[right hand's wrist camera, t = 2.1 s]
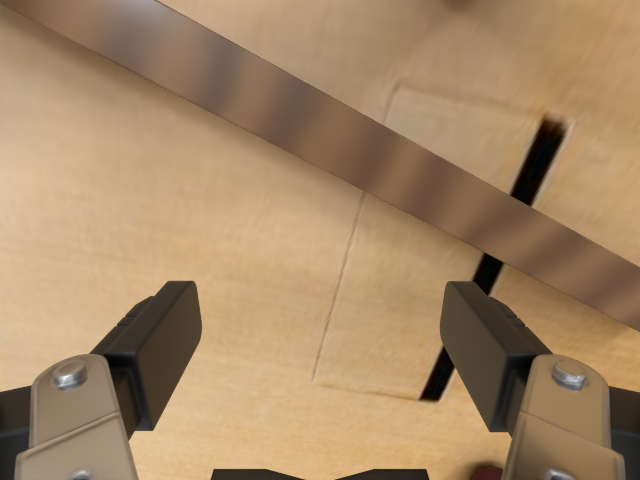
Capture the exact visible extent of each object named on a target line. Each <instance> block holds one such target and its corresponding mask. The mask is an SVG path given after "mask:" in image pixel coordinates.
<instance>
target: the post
mask: <svg viewBox="0 0 640 480" xmlns="http://www.w3.org/2000/svg"><path fill="white" fill-rule="evenodd" d="M0 4H1V5H3V6H5V7H7V8H9V9H11V10H13V11H15V12H17V13H19V14H21V15H23V16H24V17H26V18H28V19H30V20H32V21H34V22H36V23H38V24H40V25H42V26H44V27H46V28H48V29H50V30H52V31H54V32H56V33H58V34H60V35H62V36H63V37H65V38H67V39H69V40H71V41H73V42H75V43H77V44H79V45H81V46H83V47H85V48H87V49H89V50H91V51H93V52H95V53H97V54H99V55H101V56H102V57H104V58H106V59H108V60H110V61H112V62H114V63H116V64H118V65H120V66H122V67H124V68H126V69H128V70H130V71H132V72H134V73H136V74H138V75H140V76H142V77H143V78H145V79H147V80H149V81H151V82H153V83H155V84H157V85H159V86H161V87H163V88H165V89H167V90H169V91H171V92H173V93H175V94H177V95H179V96H181V97H182V98H184V99H186V100H188V101H190V102H192V103H194V104H196V105H198V106H200V107H202V108H204V109H206V110H208V111H210V112H212V113H214V114H216V115H218V116H220V117H221V118H223V119H225V120H227V121H229V122H231V123H233V124H235V125H237V126H239V127H241V128H243V129H245V130H247V131H249V132H251V133H253V134H255V135H257V136H259V137H260V138H262V139H264V140H266V141H268V142H270V143H272V144H274V145H276V146H278V147H280V148H282V149H284V150H286V151H288V152H290V153H292V154H294V155H296V156H298V157H300V158H301V159H303V160H305V161H307V162H309V163H311V164H313V165H315V166H317V167H319V168H321V169H323V170H325V171H327V172H329V173H331V174H333V175H335V176H337V177H339V178H340V179H342V180H344V181H346V182H348V183H350V184H352V185H354V186H356V187H358V188H360V189H362V190H364V191H366V192H368V193H370V194H372V195H374V196H376V197H378V198H379V199H381V200H383V201H385V202H387V203H389V204H391V205H393V206H395V207H397V208H399V209H401V210H403V211H405V212H407V213H409V214H411V215H413V216H415V217H417V218H419V219H420V220H422V221H424V222H426V223H428V224H430V225H432V226H434V227H436V228H438V229H440V230H442V231H444V232H446V233H448V234H450V235H452V236H454V237H456V238H458V239H459V240H461V241H463V242H465V243H467V244H469V245H471V246H473V247H475V248H477V249H479V250H481V251H483V252H485V253H487V254H489V255H491V256H493V257H495V258H497V259H498V260H500V261H502V262H504V263H506V264H508V265H510V266H512V267H514V268H516V269H518V270H520V271H522V272H524V273H526V274H528V275H530V276H532V277H534V278H536V279H537V280H539V281H541V282H543V283H545V284H547V285H549V286H551V287H553V288H555V289H557V290H559V291H561V292H563V293H565V294H567V295H569V296H571V297H573V298H575V299H577V300H578V301H580V302H582V303H584V304H586V305H588V306H590V307H592V308H594V309H596V310H598V311H600V312H602V313H604V314H606V315H608V316H610V317H612V318H614V319H616V320H617V321H619V322H621V323H623V324H625V325H627V326H629V327H631V328H633V329H635V330H637V331H639V332H640V267H638V266H636V265H634V264H633V263H631V262H629V261H627V260H625V259H624V258H622V257H620V256H618V255H616V254H614V253H613V252H611V251H609V250H607V249H605V248H604V247H602V246H600V245H598V244H596V243H595V242H593V241H591V240H589V239H587V238H586V237H584V236H582V235H580V234H578V233H577V232H575V231H573V230H571V229H569V228H568V227H566V226H564V225H562V224H560V223H558V222H557V221H555V220H553V219H551V218H549V217H548V216H546V215H544V214H542V213H540V212H539V211H537V210H535V209H533V208H531V207H530V206H528V205H526V204H524V203H522V202H521V201H519V200H517V199H515V198H513V197H511V196H510V195H508V194H506V193H504V192H502V191H501V190H499V189H497V188H495V187H493V186H492V185H490V184H488V183H486V182H484V181H483V180H481V179H479V178H477V177H475V176H474V175H472V174H470V173H468V172H466V171H465V170H463V169H461V168H459V167H457V166H455V165H454V164H452V163H450V162H448V161H446V160H445V159H443V158H441V157H439V156H437V155H436V154H434V153H432V152H430V151H428V150H427V149H425V148H423V147H421V146H419V145H418V144H416V143H414V142H412V141H410V140H409V139H407V138H405V137H403V136H401V135H399V134H398V133H396V132H394V131H392V130H390V129H389V128H387V127H385V126H383V125H381V124H380V123H378V122H376V121H374V120H372V119H371V118H369V117H367V116H365V115H363V114H362V113H360V112H358V111H356V110H354V109H352V108H351V107H349V106H347V105H345V104H343V103H342V102H340V101H338V100H336V99H334V98H333V97H331V96H329V95H327V94H325V93H324V92H322V91H320V90H318V89H316V88H315V87H313V86H311V85H309V84H307V83H306V82H304V81H302V80H300V79H298V78H296V77H295V76H293V75H291V74H289V73H287V72H286V71H284V70H282V69H280V68H278V67H277V66H275V65H273V64H271V63H269V62H268V61H266V60H264V59H262V58H260V57H259V56H257V55H255V54H253V53H251V52H250V51H248V50H246V49H244V48H242V47H240V46H239V45H237V44H235V43H233V42H231V41H230V40H228V39H226V38H224V37H222V36H221V35H219V34H217V33H215V32H213V31H212V30H210V29H208V28H206V27H204V26H203V25H201V24H199V23H197V22H195V21H193V20H192V19H190V18H188V17H186V16H184V15H183V14H181V13H179V12H177V11H175V10H174V9H172V8H170V7H168V6H166V5H165V4H163V3H161V2H159V1H157V0H0Z"/></svg>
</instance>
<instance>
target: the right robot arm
mask: <svg viewBox="0 0 640 480" xmlns="http://www.w3.org/2000/svg"><path fill="white" fill-rule="evenodd" d="M201 333H202V321H201V314H200V307H199V300H198V293H197V287H196V284H195V282H194V281H168V282H167V283H166V284H165V285H164V286H163V287H162V288H161V289H160V291H159V292H158V293H157V294H156V295H155V296H150V297H148V298H147V299H145V300H143V301H141V302H140V303H138V304H136V305H135V306H134V307H133V308H132V309H131V310H130V311H129V312H128V313H127V314H126V317H124V318H123V319H122V320H121V321H120V322H119V323H118V324H117V326H115V327H114V328H113V329H112V330H111V331H110V332H109V333H108V334H107V335H106V336H105V337H104V339H103V340H102V341H101V342H100V343H99V344H98V345H97V346H96V347H95V348H94V349H93V350H92V351H91V352H90V353H89V354H84V355H78V356H74V357H71V358H68V359H65V360H63V361H60V362H58V363H56V364H54V365H53V366H51V367H49V368H48V369H46V370H45V371H44V372H42V373H41V374H40V375H39V376H38V377H37V378H36V379H35V381H34V382H33V384H32V385H31V386H27V387H22V388H17V389H13V390H8V391H3V392H0V480H139V478H138V475H137V471H136V467H135V463H134V459H133V456H132V452H131V448H130V444H129V440H130V438H131V436H132V435H133V433H134V431H153V430H154V428H155V426H156V424H157V422H158V420H159V418H160V417H161V415H162V413H163V411H164V409H165V407H166V405H167V403H168V401H169V399H170V397H171V395H172V394H173V392H174V390H175V388H176V386H177V384H178V382H179V380H180V378H181V376H182V374H183V372H184V371H185V369H186V367H187V365H188V363H189V361H190V359H191V357H192V355H193V353H194V351H195V350H196V348H197V346H198V344H199V341H200V338H201ZM440 335H441V339H442V343H443V345H444V347H445V349H446V350H447V352H448V354H449V356H450V358H451V360H452V362H453V364H454V366H455V367H456V369H457V371H458V373H459V375H460V377H461V379H462V381H463V383H464V384H465V386H466V388H467V390H468V392H469V394H470V396H471V398H472V400H473V401H474V403H475V405H476V407H477V409H478V411H479V413H480V415H481V417H482V418H483V420H484V422H485V424H486V426H487V428H488V430H489V432H508V433H509V434H510V436H511V438H512V441H511V444H510V448H509V452H508V456H507V459H506V463H505V467H504V471H503V475H502V478H501V480H640V393H639V392H634V391H630V390H625V389H620V388H615V387H611V386H608V384H607V382H606V381H605V379H604V378H603V377H602V376H601V375H600V374H599V373H598V372H596V371H595V370H594V369H592V368H591V367H589V366H587V365H586V364H584V363H582V362H580V361H577V360H575V359H572V358H569V357H566V356H562V355H556V354H553V353H552V352H551V351H550V350H549V349H548V348H547V347H546V346H545V345H544V344H543V343H542V342H541V341H540V340H539V339H538V338H537V336H536V335H535V334H534V333H533V332H532V331H531V330H530V329H529V328H528V327H525V324H524V323H523V322H522V321H521V320H520V319H519V318H517V316H516V315H515V314H514V313H513V311H512V310H511V309H510V308H509V307H508V306H507V305H505V304H503V303H501V302H500V301H498V300H496V299H495V298H493V297H488V296H487V295H486V294H485V293H484V292H483V291H482V290H481V289H480V288H479V286H478V285H477V284H476V283H475V282H473V281H449V282H448V283H447V284H446V287H445V293H444V300H443V307H442V314H441V320H440ZM211 480H304V479H300V478H297V477H293V476H289V475H286V474H282V473H278V472H275V471H271V470H267V469H214V470H213V473H212V477H211ZM336 480H429V477H428V473H427V470H426V469H373V470H369V471H365V472H362V473H358V474H354V475H351V476H347V477H343V478H340V479H336Z"/></svg>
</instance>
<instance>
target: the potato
mask: <svg viewBox="0 0 640 480" xmlns="http://www.w3.org/2000/svg"><path fill="white" fill-rule="evenodd" d="M503 471H504V470H503V469H500V468H497V467H485V468H482V469H480V470H478V471H477V472H475V473H474V475H473V476H472V477H471V479H470V480H501V478H502V475H503Z"/></svg>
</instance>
